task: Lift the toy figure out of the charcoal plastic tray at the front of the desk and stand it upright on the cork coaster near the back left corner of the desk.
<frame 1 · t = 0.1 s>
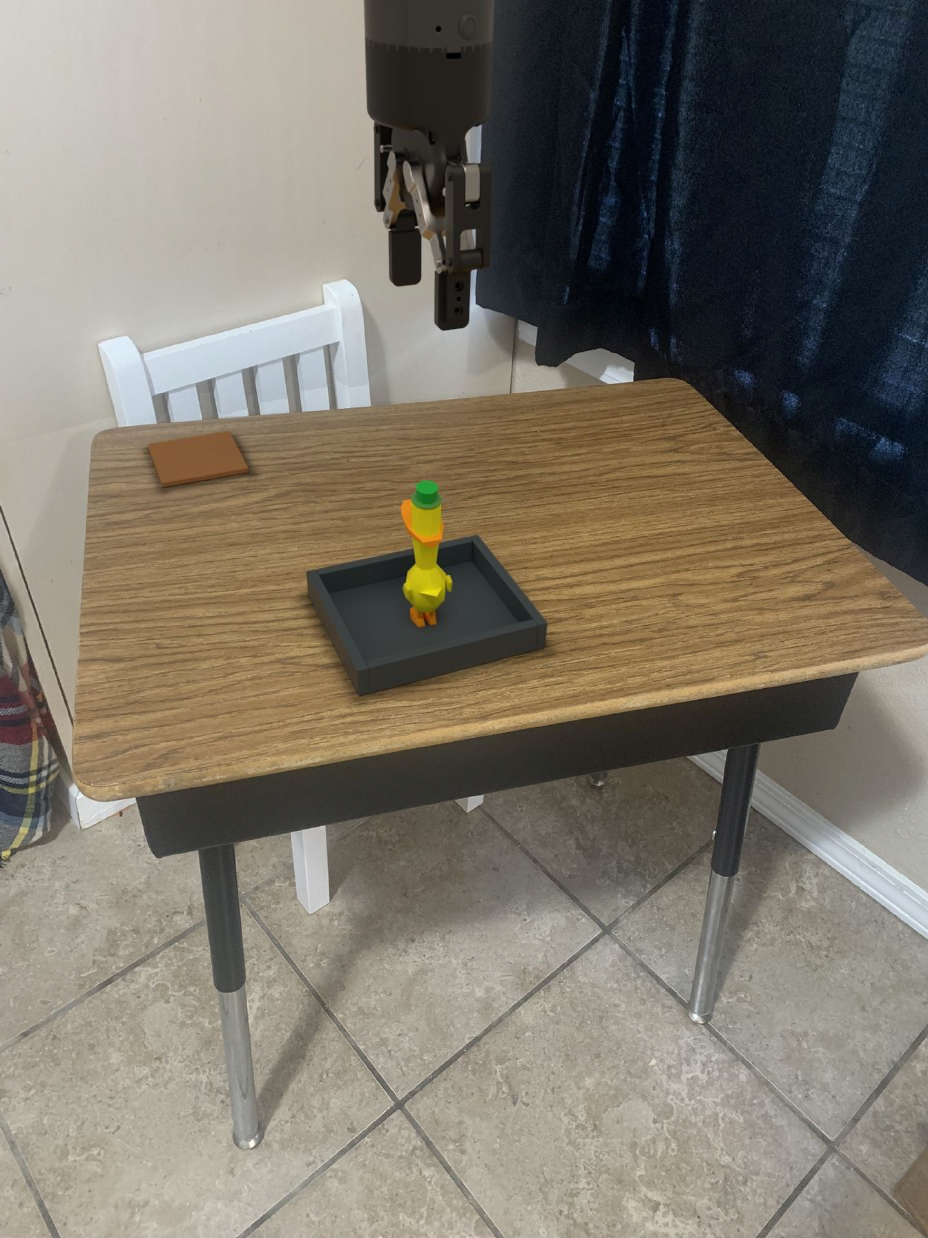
hand: (427, 304, 67), 22 cm above the table, tool pointing down, fingers open, 8 cm apart
toy figure: (423, 618, 75), resting on tray
coaster: (197, 460, 94), on the table
tray: (423, 620, 75), on the table
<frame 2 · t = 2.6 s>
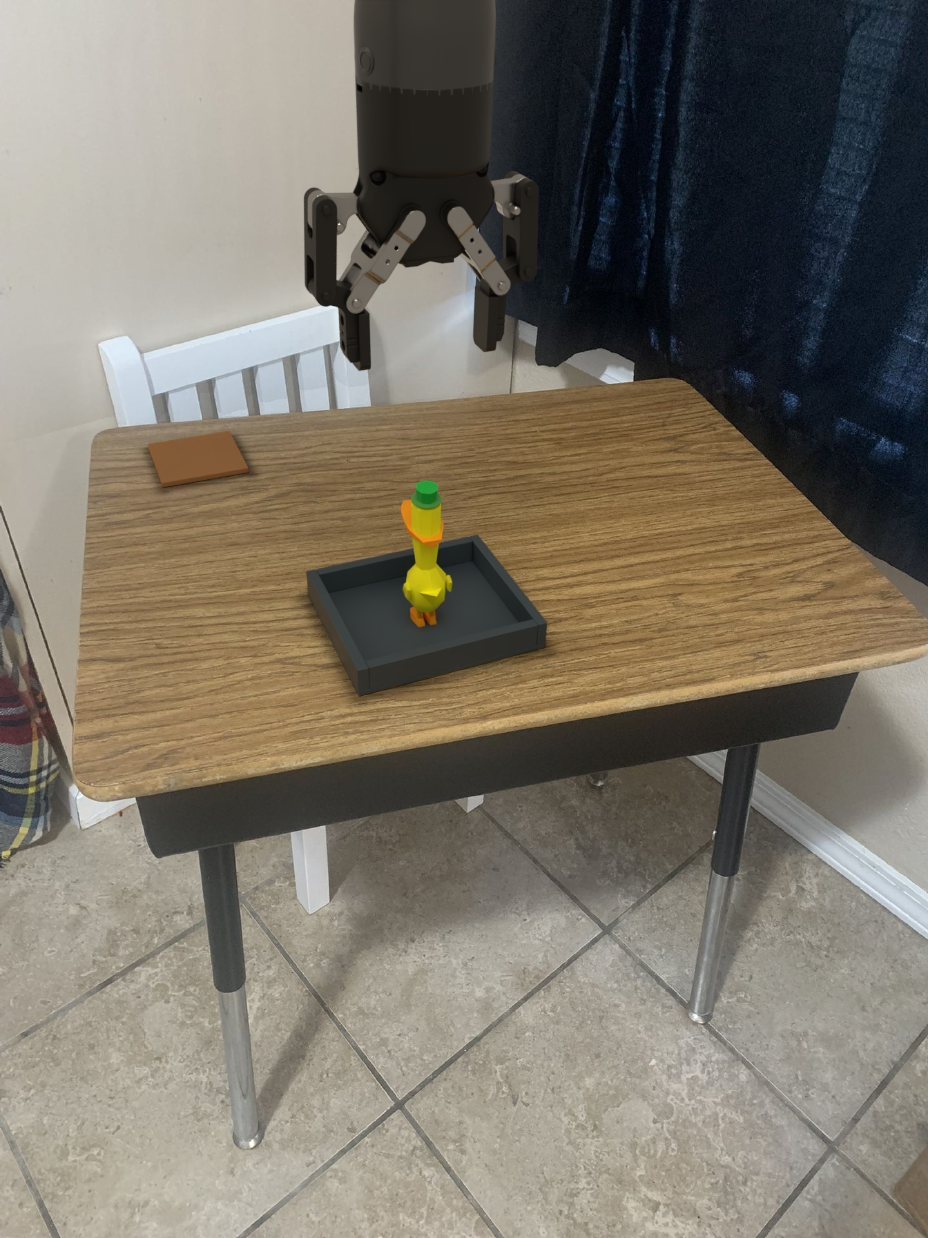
hand: (423, 356, 63), 21 cm above the table, tool pointing down, fingers open, 8 cm apart
nothing on the table moved.
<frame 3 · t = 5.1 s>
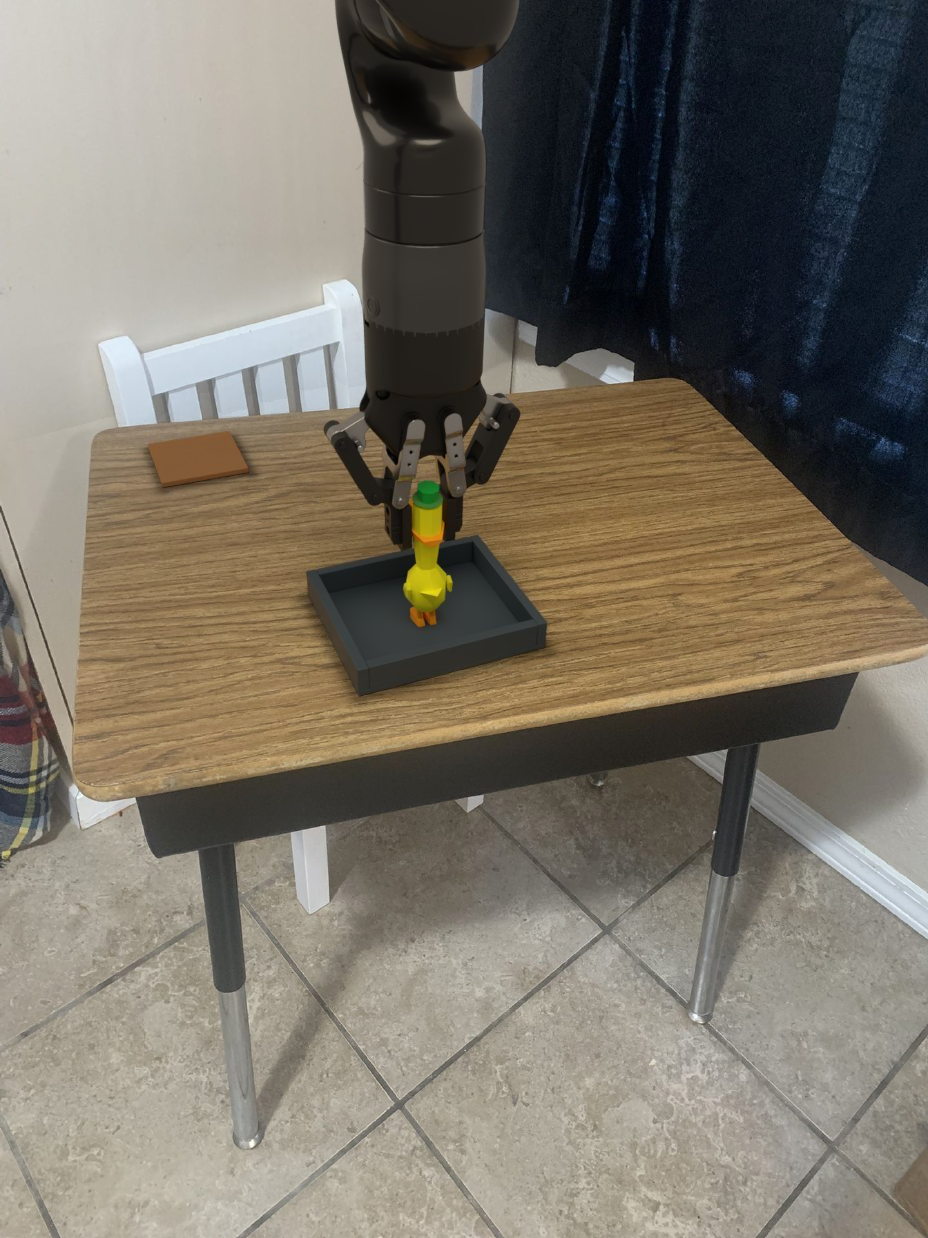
hand: (423, 539, 70), 8 cm above the table, tool pointing down, fingers closed on toy figure, 2 cm apart
toy figure: (423, 618, 75), resting on tray, touching gripper
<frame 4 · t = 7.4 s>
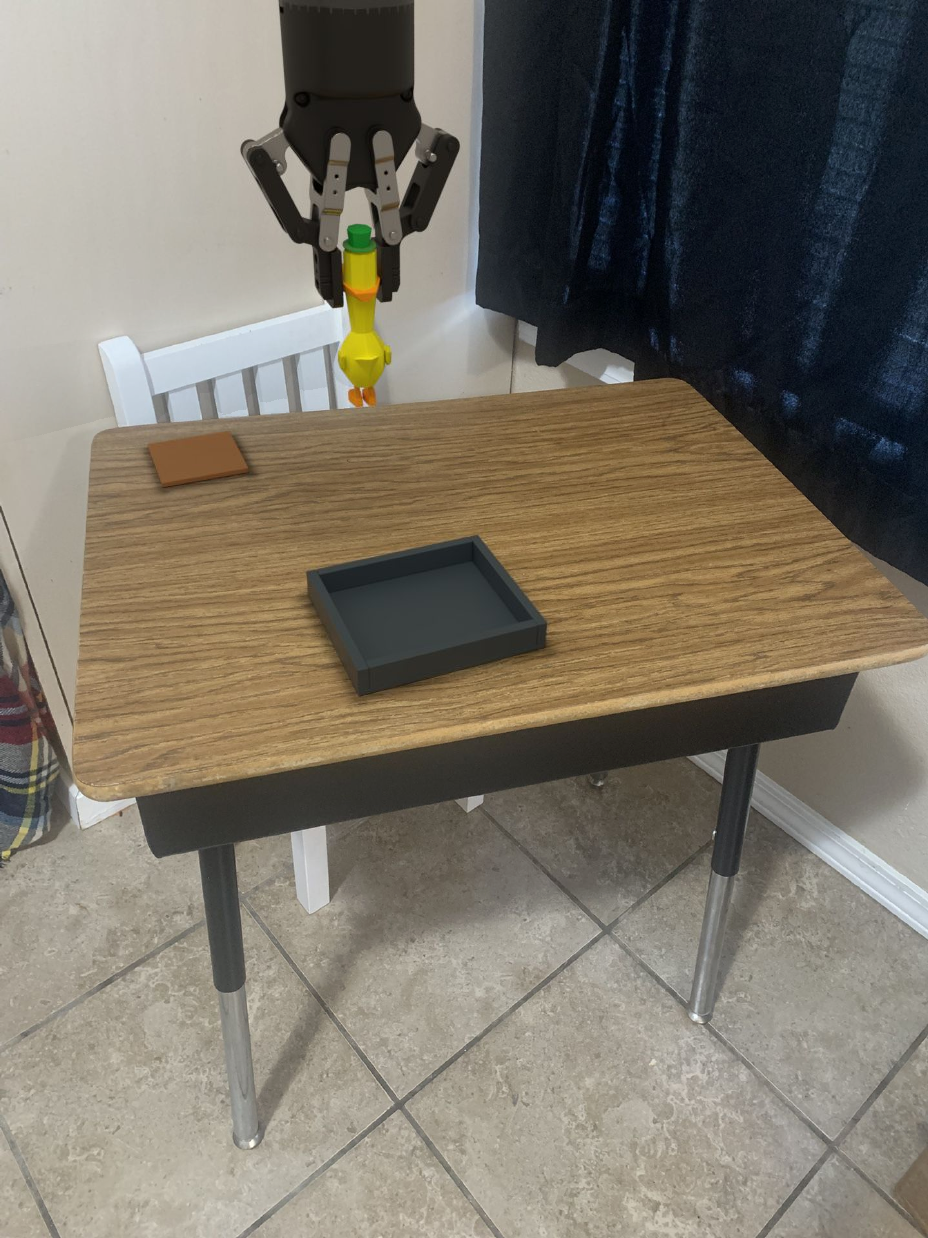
hand: (358, 299, 65), 23 cm above the table, tool pointing down, fingers closed on toy figure, 2 cm apart
toy figure: (362, 401, 69), point 16 cm above the table, touching gripper
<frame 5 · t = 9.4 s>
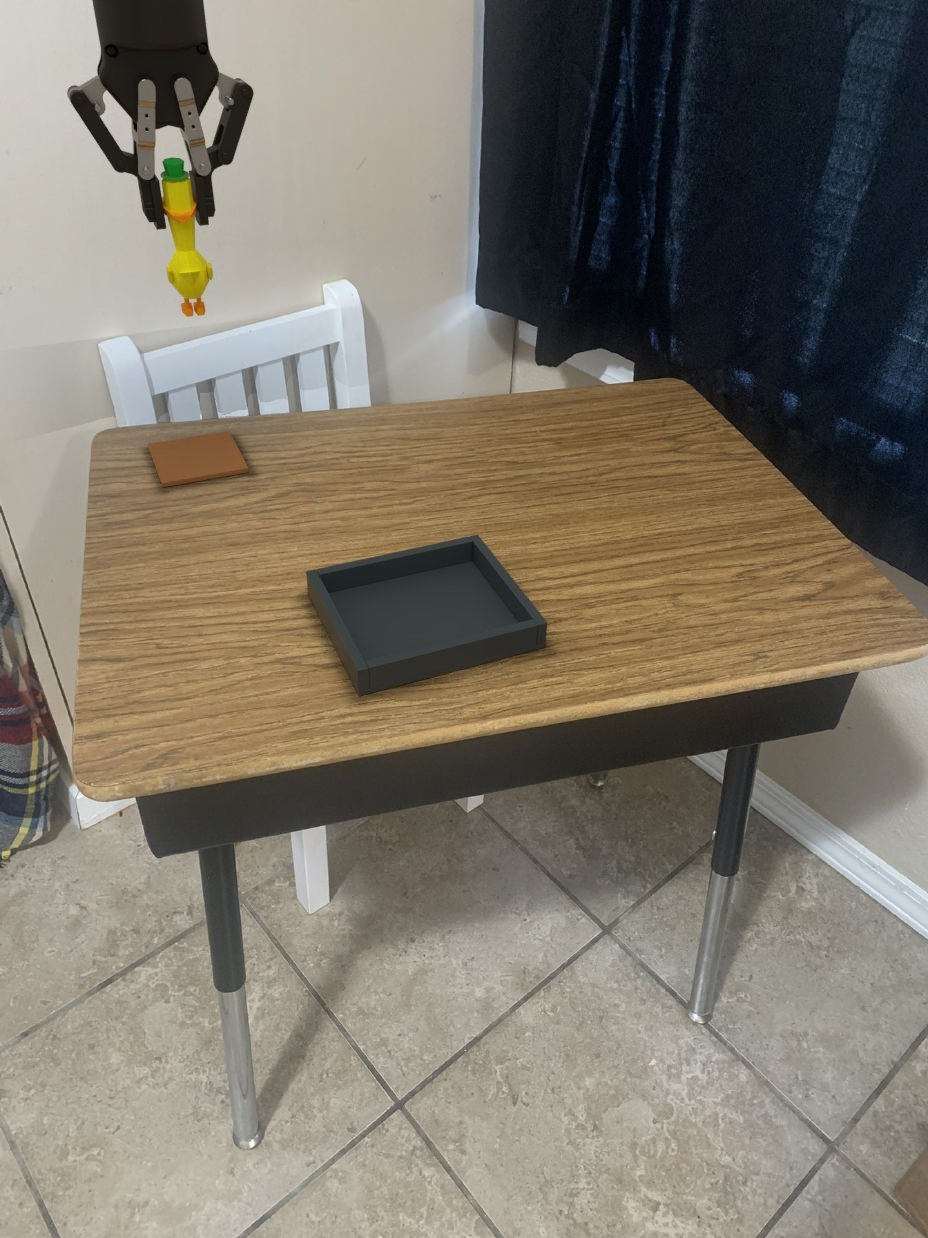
hand: (180, 223, 78), 23 cm above the table, tool pointing down, fingers closed on toy figure, 2 cm apart
toy figure: (194, 313, 82), point 15 cm above the table, touching gripper
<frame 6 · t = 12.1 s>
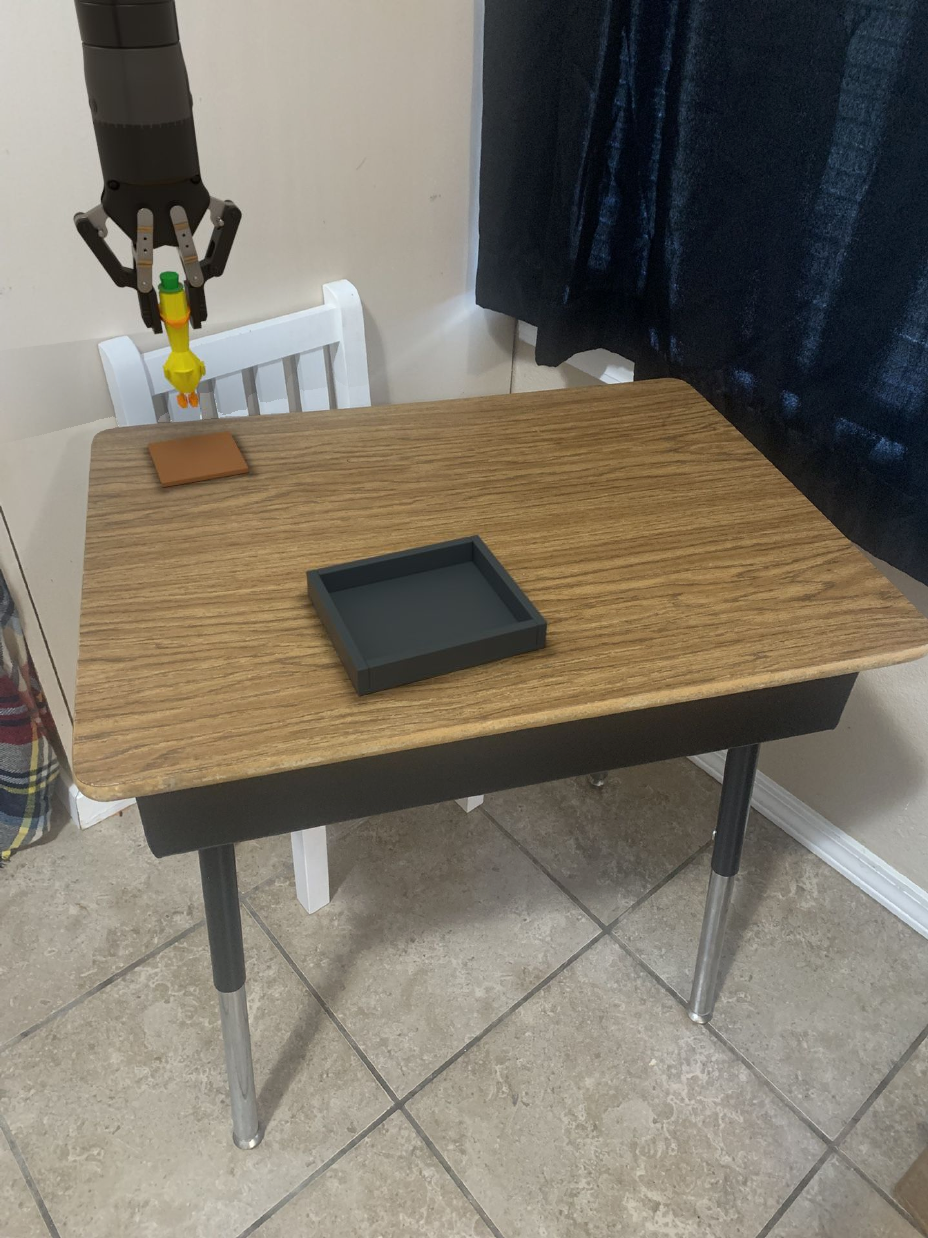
hand: (176, 327, 85), 13 cm above the table, tool pointing down, fingers closed on toy figure, 2 cm apart
toy figure: (188, 403, 90), point 6 cm above the table, touching gripper
when the fingers open (8 cm above the table, at t = 13.9 s): toy figure stays where it is, resting on coaster.
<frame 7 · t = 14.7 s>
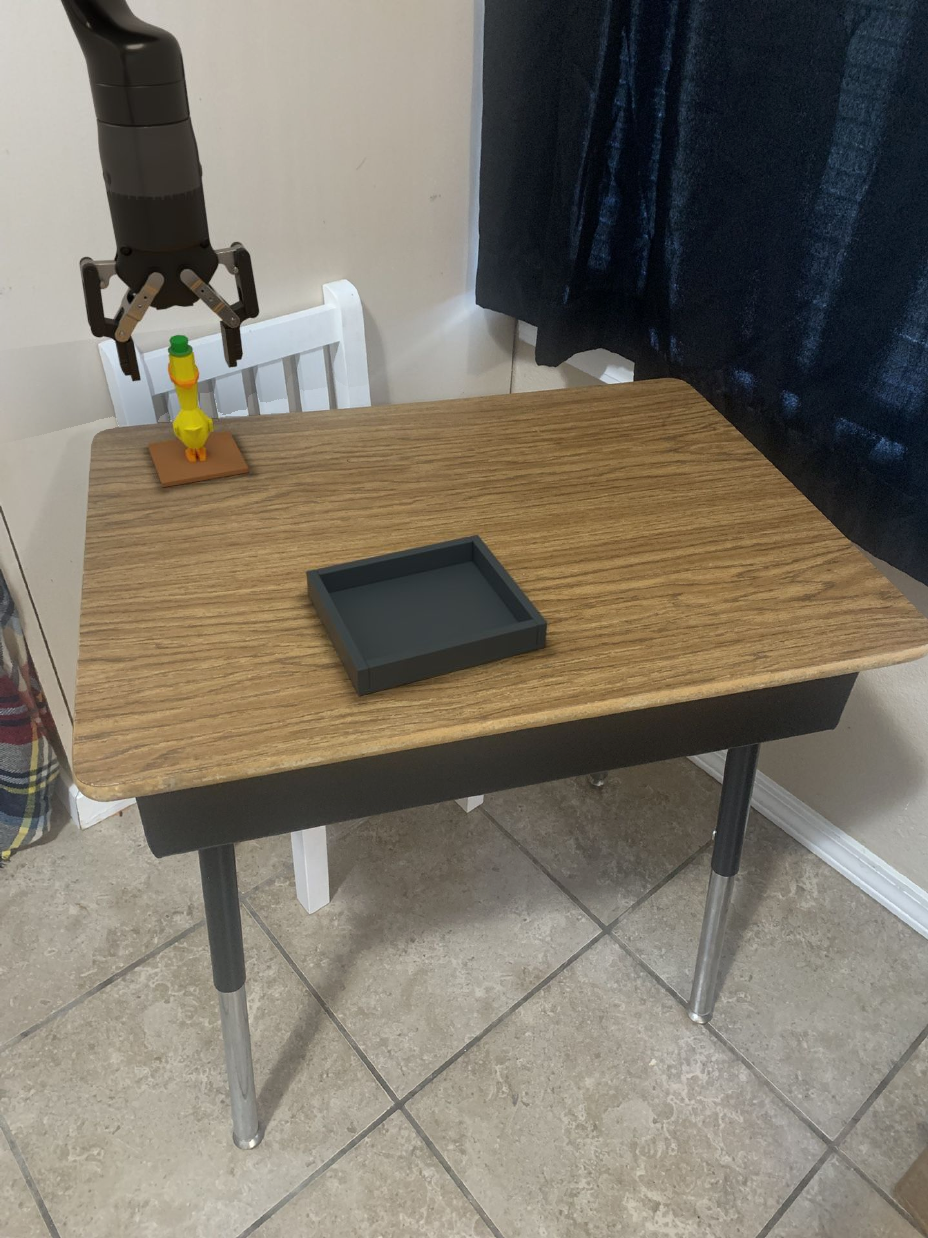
hand: (183, 370, 88), 9 cm above the table, tool pointing down, fingers open, 8 cm apart
toy figure: (197, 457, 93), resting on coaster
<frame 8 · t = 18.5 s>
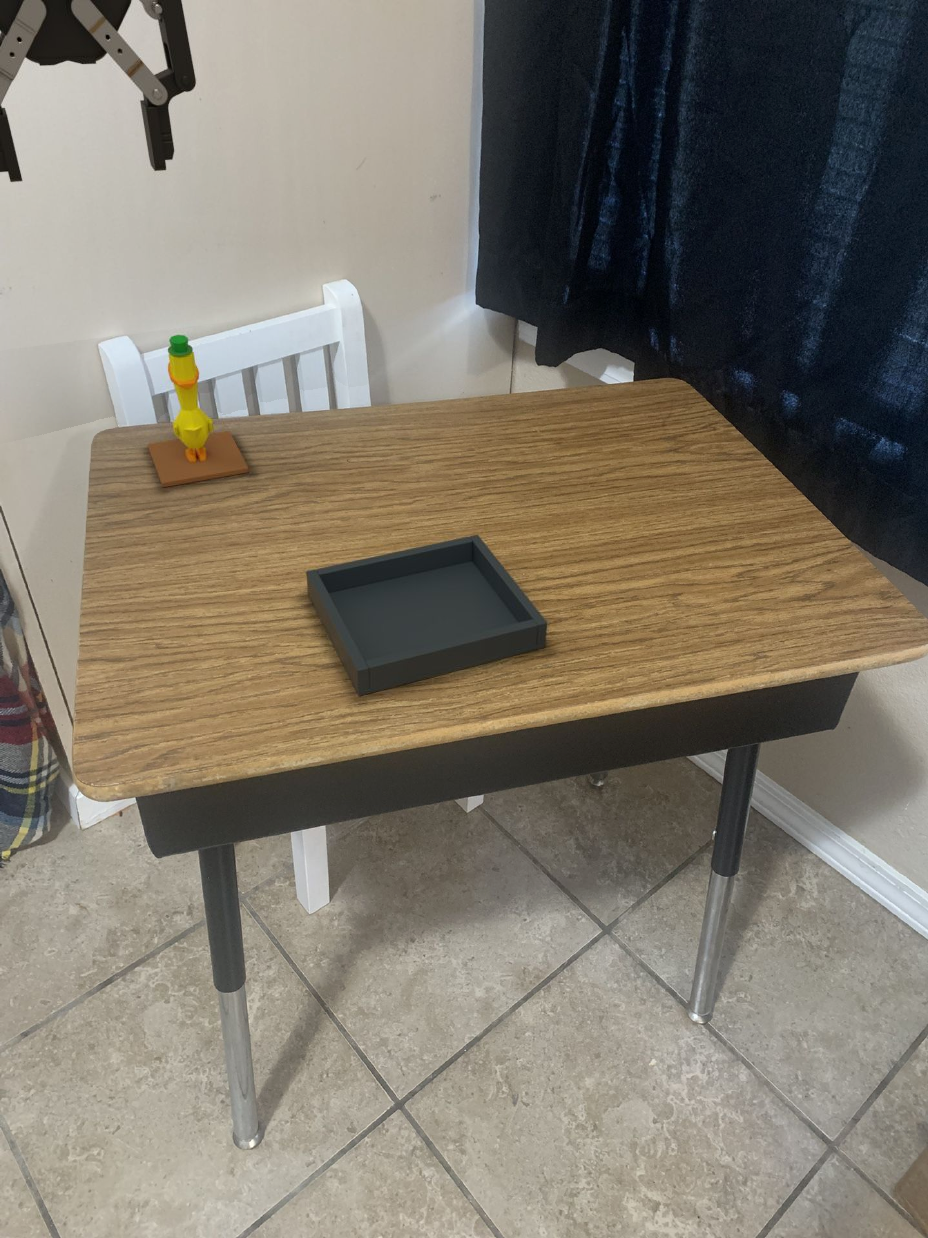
hand: (88, 173, 61), 30 cm above the table, tool pointing down, fingers open, 8 cm apart
nothing on the table moved.
at the end: toy figure 0.1 cm off-centre on the coaster, point 0.3 cm above the coaster's base; toy figure tilted 0°; toy figure touching coaster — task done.
